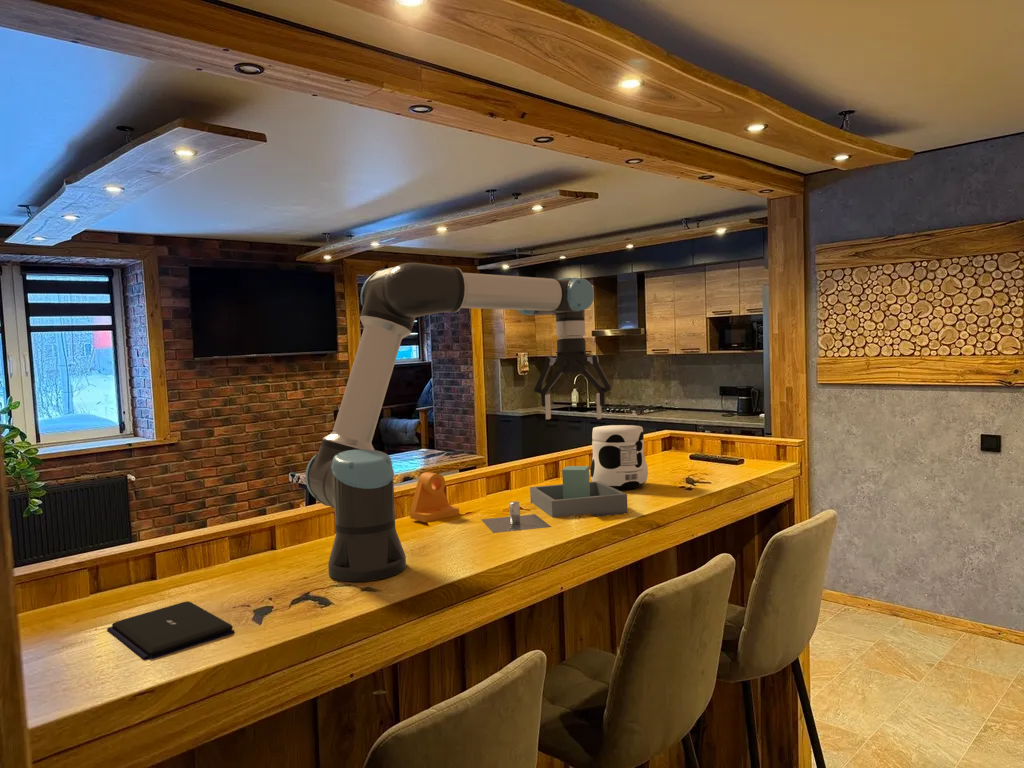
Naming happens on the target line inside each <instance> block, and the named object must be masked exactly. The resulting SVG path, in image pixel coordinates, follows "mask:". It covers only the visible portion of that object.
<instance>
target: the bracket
mask: <svg viewBox="0 0 1024 768" xmlns="http://www.w3.org/2000/svg"><path fill="white" fill-rule="evenodd" d="M445 487H446V479H445V477H444V476H443V475H442V474H440V473H435V472H430V471H425V472H422V473H421V475H419V477H418V480H417V483H416V487H415V491H414V495H413V500H412V502H411V503H412V504H411V507H410V510H409V516H410V517H409V518H410V520H411V519H412V520H416V521H419V522H423V523H428V522H432V521H436V520H440V519H444V518H449V517H454V516H460V507H459V506H454V505H450V503H449V500H448V497H447V495H446V493H445Z"/></svg>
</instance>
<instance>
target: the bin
mask: <svg viewBox="0 0 1024 768" xmlns="http://www.w3.org/2000/svg"><path fill="white" fill-rule="evenodd" d="M589 482H590V497H581V498H570V499H563V483H562V484H561V483H560V484H550V485H538V486H530V487H529V497H530V498H529V499H530V504H533V505H534V506H536V507H537V508H538V509H540V510H541V511H542V512H544V513H545V514H547V515H548V516H550V517H551V518H560V517H561V518H562V517H571V516H580V515H581V516H582V515H588V514H589V515H592V516H593V517H595V516H600V517H607V515H610V516H616V515H615V514H620V515H625V514H624V513H629V512H628V494H627V493H625V492H623V491H620V489H615V488H612V487H610V486H608V485H606V484H604V483H602V482H599V481H594V482H592V481H589Z"/></svg>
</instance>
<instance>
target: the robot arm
mask: <svg viewBox="0 0 1024 768" xmlns="http://www.w3.org/2000/svg"><path fill="white" fill-rule="evenodd" d="M594 299H595V290H594V287H593V285H592V283H591V282H590V281H589V280H587V279H586V278H582V277H581V278H579V277H561V278H547V277H534V276H533V277H531V276H518V275H517V276H516V275H503V274H488V273H487V274H486V273H476V272H475V273H473V272H463V271H462V270H461V268H459V267H454V266H447V265H445V266H444V265H437V264H432V263H422V262H405V263H401V264H398V265H395V266H393V267H387V268H381V269H380V270H377V271H375V272H374V273H373V274H371V275H370V276H369V277H368V278H367V279H366V280H365V282H364V283H363V285H362V287H361V290H360V304H361V307H362V309H361V313H360V316H359V320H360V322H361V324H362V326H363V331H362V334H361V338H360V339H359V344H358V347H357V350H356V353H355V356H354V360H353V363H352V367H351V370H350V373H349V376H348V380H347V382H346V383H347V384H346V387H345V389H344V393H343V396H342V399H341V402H340V406H339V409H338V412H337V416H336V419H335V422H334V426H333V429H332V432H330V434H328V435H326V436H324V437H322V440H321V444H320V447H319V450H318V453H316V454H314V456H313V457H312V458H310V461H308V463H307V466H306V469H305V474H304V478H305V479H304V480H305V485H306V487H307V489H308V492H309V494H310V495H311V496H312V497H313V498H314V499H316V501H317V502H319V503H321V504H322V505H324V506H327V507H331V508H333V509H334V521H335V523H334V525H335V537H334V540H333V545H332V549H331V552H330V555H329V560H328V565H327V566H328V567H327V568H328V576H329V577H330V578H332V579H333V580H337V581H342V582H354V583H355V582H369V581H377V580H383V579H387V578H390V577H392V576H396V575H398V574H401V573H403V571H405V570H406V568H407V559H406V558H407V556H406V553H405V551H404V547H403V546H402V543H401V540H400V537H399V534H398V532H397V530H396V529H397V528H396V516H395V515H396V513H395V512H396V511H395V509H396V508H395V485H394V482H395V481H394V476H395V471H394V468H393V462H392V461H393V460H392V458H391V457H390V456H389V455H388V453H386V452H383V451H380V450H377V449H376V450H375V448H374V446H373V443H372V442H373V439H374V436H375V430H376V427H377V424H378V421H379V417H380V414H381V412H382V408H383V404H384V401H385V397H386V393H387V391H388V387H389V383H390V380H391V378H392V374H393V371H394V367H395V364H396V360H397V357H398V353H399V350H400V346H401V343H402V340H403V339H405V338H406V337H408V336H410V335H411V334H412V329H413V327H414V323H415V320H416V318H418V317H419V318H420V317H423V316H429V315H432V314H440V313H442V314H443V313H457V312H459V311H460V310H461V309H478V310H479V309H482V310H483V309H484V310H513V311H515V310H517V312H518V314H521V315H523V316H530V317H532V316H555V325H556V327H555V330H556V331H555V333H556V337H557V340H556V357H551V356H547V357H545V360H544V367H543V368H542V371H541V373H540V376H539V378H538V380H537V381H536V382H537V383H536V384H535V387H534V388H533V391H534V392H535V393H537V394H540V396H541V398H540V399H541V406H542V408H543V407H545V420H550V419H552V414H551V413H552V410H551V394H550V393H548V392H549V391H550V389H552V388H553V386H554V384H555V383H556V382H557V381H558V379H559V378H560V377H561V376H562V375H563V374H579V373H581V374H582V375H584V377H585V378H586V379H587V380H588V382H590V383H591V384H592V386H593V387H594V388H595V389H596V390H597V391H598V393H596V394H595V395H596V419H597V420H600V419H602V407H604V406H605V404H606V393H607V392H610V391H611V390H612V389H613V386H612V385H611V383H610V381H609V379H608V377H607V376H606V374H605V372H604V370H603V367H602V366H601V365H600V359H599V356H598V355H596V354H595V355H592V356H588V355H587V351H586V350H587V348H586V339H585V336H586V321H585V319H586V318H585V315H586V314H585V310H587V309H588V308H590V307H591V306H592V305H593V302H594ZM588 362H589V363H590V364H591V365H592V366H593V368H594V369H595V372H596V373H597V375H598V377H599V379H600V381H601V383H602V384H601V383H600V382H599V381H598V380H597V379H596V378H595V377H594V376H593V374H592V373H591V372H590V370H588V368H587V367H586V365H587V363H588ZM554 364H557V366H558V368H557V369H556V371H555V373H554V374H553V375H552V376H551V378H550V379H549V380H548V381H547V382H546V384H545V385H544V383H545V381H546V379H547V377H548V375H549V372H550V370H551V368H552V366H553V365H554ZM543 385H544V387H543ZM603 386H604V387H603Z"/></svg>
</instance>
